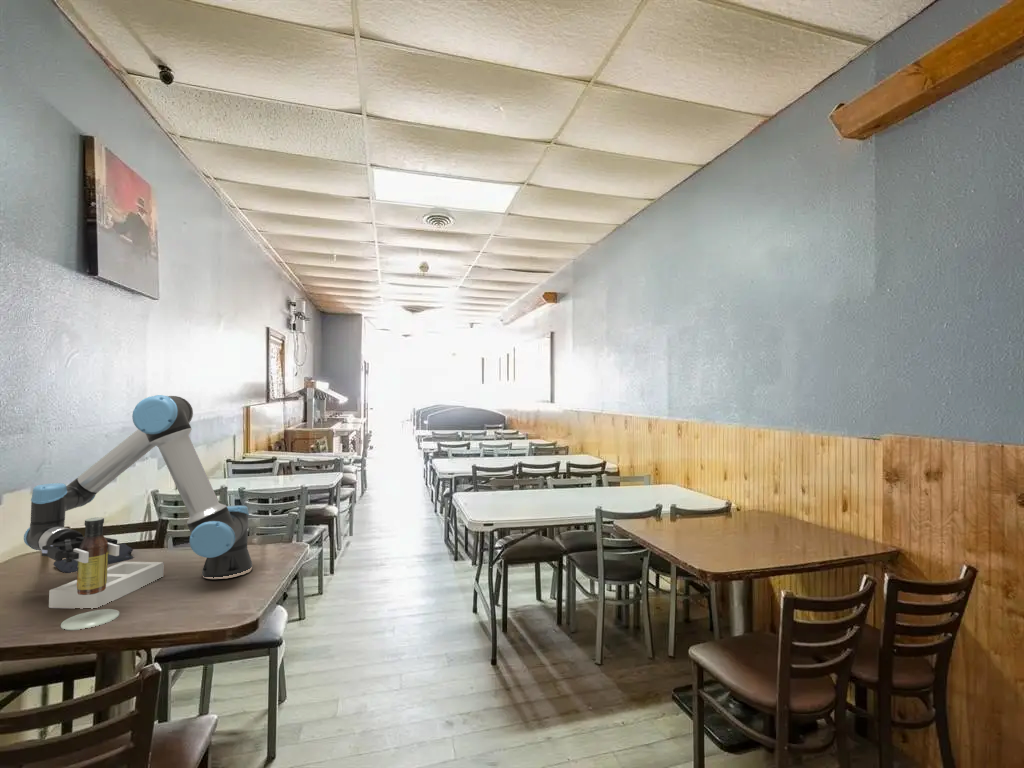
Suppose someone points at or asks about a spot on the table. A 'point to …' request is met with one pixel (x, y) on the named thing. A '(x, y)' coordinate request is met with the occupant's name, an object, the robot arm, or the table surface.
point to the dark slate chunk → (123, 556)
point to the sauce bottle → (93, 559)
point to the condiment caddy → (108, 585)
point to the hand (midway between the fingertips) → (102, 554)
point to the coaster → (90, 619)
